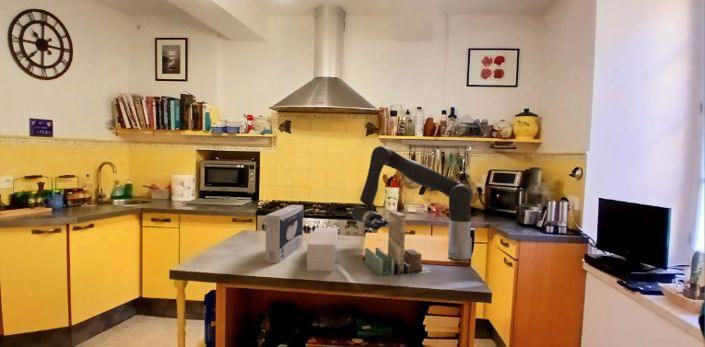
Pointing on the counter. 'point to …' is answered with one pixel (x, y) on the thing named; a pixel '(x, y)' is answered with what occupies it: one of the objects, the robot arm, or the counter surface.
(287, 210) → the packaging
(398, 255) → the birch panel
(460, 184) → the robot arm
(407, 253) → the offcut stack
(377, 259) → the rack
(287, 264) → the counter surface
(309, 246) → the stack of papers
